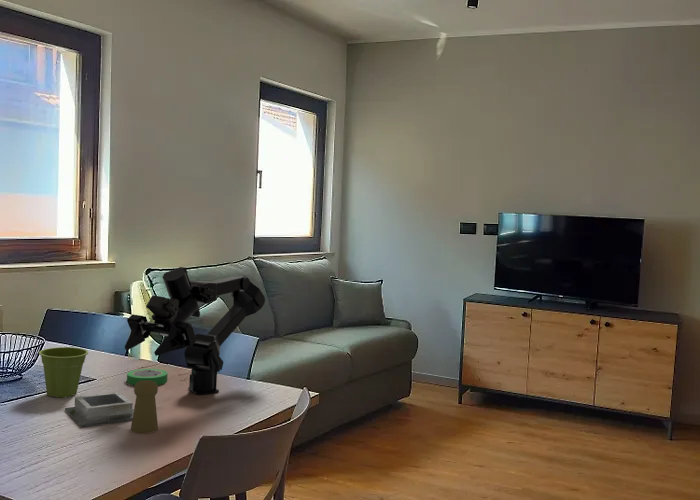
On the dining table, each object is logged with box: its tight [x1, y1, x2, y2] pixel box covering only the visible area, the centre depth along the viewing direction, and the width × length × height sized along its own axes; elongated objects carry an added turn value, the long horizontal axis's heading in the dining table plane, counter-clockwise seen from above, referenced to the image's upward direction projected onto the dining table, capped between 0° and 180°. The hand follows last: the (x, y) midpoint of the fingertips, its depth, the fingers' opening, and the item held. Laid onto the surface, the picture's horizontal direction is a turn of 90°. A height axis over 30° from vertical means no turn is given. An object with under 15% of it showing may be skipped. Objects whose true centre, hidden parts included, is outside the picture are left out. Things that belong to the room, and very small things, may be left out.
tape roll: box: [126, 368, 168, 386], centre depth 198 cm, size 11×11×3 cm
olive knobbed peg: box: [130, 380, 159, 434], centre depth 158 cm, size 6×6×11 cm
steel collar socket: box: [64, 391, 134, 428], centre depth 166 cm, size 14×14×4 cm
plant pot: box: [38, 346, 89, 399], centre depth 181 cm, size 12×12×11 cm
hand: (140, 351), depth 167 cm, fingers open, 9 cm apart
